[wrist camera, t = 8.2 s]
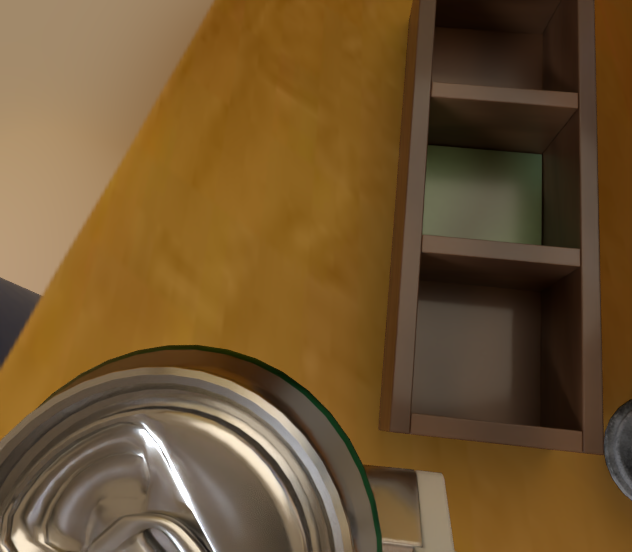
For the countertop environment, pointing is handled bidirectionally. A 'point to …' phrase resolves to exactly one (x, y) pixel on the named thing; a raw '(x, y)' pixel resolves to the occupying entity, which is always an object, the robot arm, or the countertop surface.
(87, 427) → the soda can
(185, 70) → the countertop surface
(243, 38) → the countertop surface
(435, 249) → the wooden compartment tray
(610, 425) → the grey stacked stone piece
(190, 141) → the countertop surface
